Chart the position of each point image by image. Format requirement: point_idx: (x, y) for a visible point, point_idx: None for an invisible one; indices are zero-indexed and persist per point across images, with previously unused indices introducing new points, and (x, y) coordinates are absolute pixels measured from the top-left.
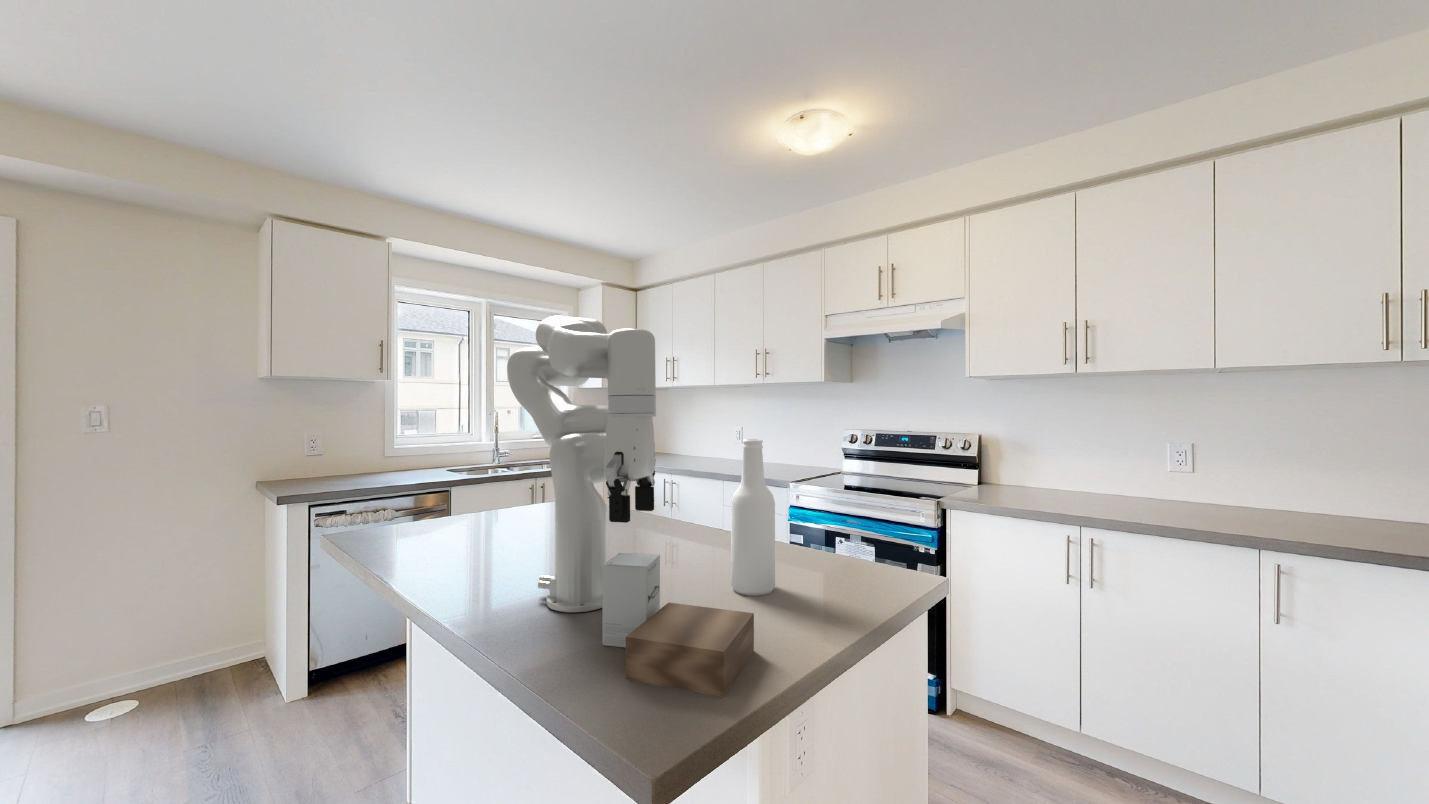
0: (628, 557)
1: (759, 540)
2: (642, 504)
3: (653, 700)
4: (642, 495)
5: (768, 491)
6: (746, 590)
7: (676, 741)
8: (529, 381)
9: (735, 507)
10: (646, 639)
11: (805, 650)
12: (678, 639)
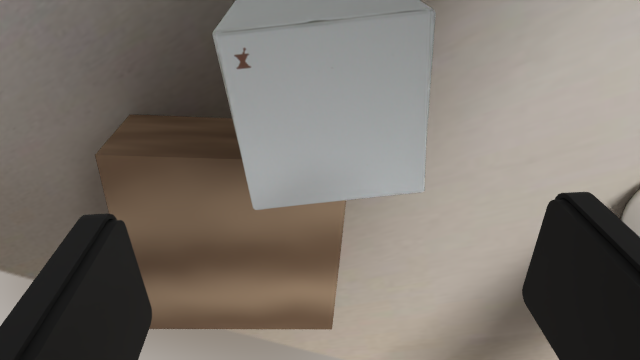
0: (344, 100)
1: None
2: (557, 271)
3: (91, 189)
4: (601, 331)
5: None
6: (629, 213)
7: (17, 252)
8: None
9: None
10: (108, 201)
11: (351, 332)
12: (144, 254)
